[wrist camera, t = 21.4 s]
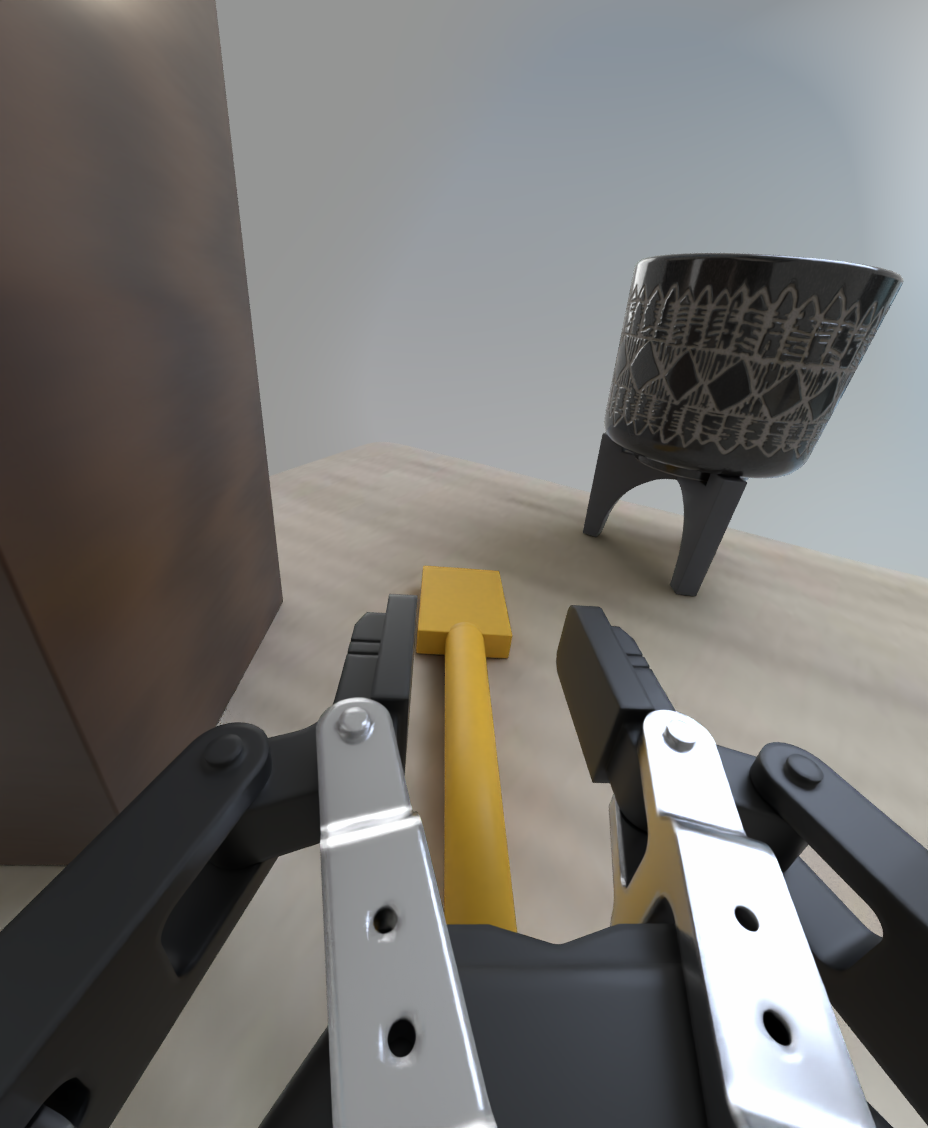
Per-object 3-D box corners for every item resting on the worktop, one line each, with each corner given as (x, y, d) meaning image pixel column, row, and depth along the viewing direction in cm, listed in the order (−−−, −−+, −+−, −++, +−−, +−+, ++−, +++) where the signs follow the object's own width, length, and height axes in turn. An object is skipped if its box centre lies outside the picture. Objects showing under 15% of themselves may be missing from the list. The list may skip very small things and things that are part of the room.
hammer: (421, 585, 26) (423, 558, 26) (496, 590, 27) (500, 564, 26) (349, 1427, 7) (345, 1436, 6) (640, 1404, 7) (680, 1409, 6)
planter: (542, 554, 32) (607, 247, 23) (601, 506, 41) (662, 277, 33) (747, 630, 26) (936, 259, 17) (759, 552, 36) (883, 291, 27)
